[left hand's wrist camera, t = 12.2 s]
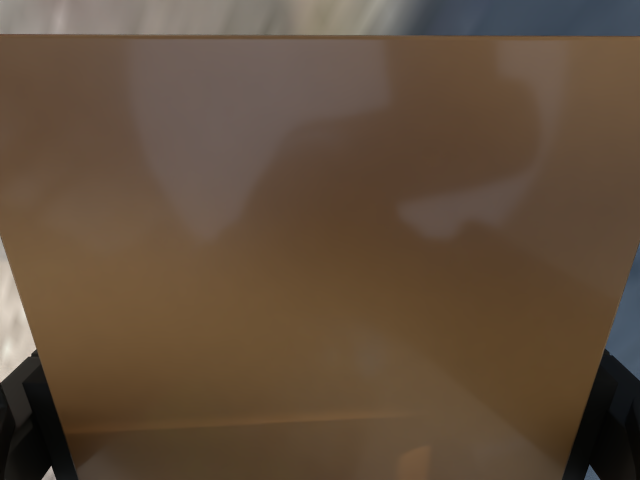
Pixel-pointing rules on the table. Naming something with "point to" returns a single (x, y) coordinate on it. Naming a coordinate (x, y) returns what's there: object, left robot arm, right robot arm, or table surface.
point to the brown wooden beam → (320, 247)
